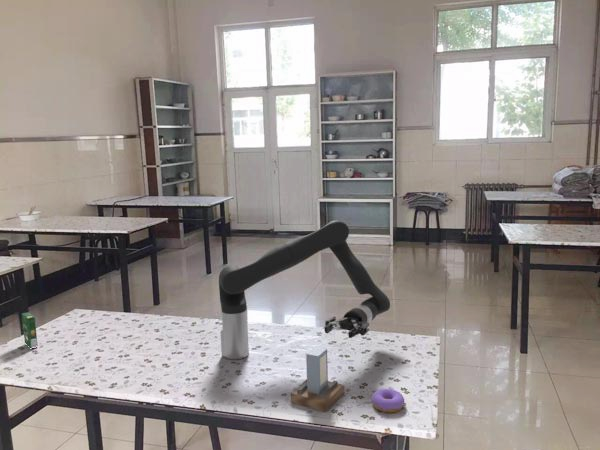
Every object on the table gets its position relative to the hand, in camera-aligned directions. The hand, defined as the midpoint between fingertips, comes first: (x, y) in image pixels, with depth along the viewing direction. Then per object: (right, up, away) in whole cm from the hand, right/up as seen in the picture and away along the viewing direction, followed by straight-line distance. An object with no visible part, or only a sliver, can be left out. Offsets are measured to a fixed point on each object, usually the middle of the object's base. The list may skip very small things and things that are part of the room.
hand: (337, 332), depth 164 cm
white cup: (-38, -9, +52) cm, 65 cm away
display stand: (-7, -18, -10) cm, 22 cm away
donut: (+14, -18, -16) cm, 28 cm away
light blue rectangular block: (-7, -15, -11) cm, 19 cm away
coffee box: (-119, -14, +37) cm, 126 cm away
